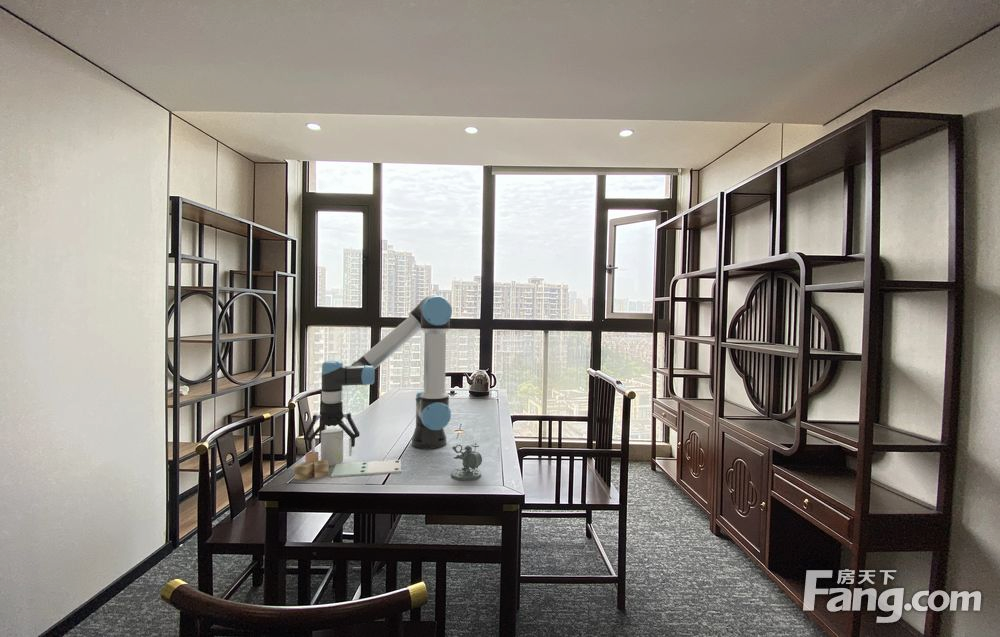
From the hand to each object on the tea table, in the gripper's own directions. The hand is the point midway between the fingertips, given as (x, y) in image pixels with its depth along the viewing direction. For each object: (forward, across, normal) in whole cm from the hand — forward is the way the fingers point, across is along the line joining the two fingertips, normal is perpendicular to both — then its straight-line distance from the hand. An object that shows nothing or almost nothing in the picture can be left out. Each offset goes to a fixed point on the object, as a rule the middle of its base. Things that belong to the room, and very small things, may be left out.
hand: (332, 456), depth 174 cm
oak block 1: (+2, +7, +14) cm, 16 cm away
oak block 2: (+2, +2, +13) cm, 13 cm away
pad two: (+2, -20, +10) cm, 22 cm away
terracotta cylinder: (+2, +6, +7) cm, 10 cm away
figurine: (+2, -49, +23) cm, 54 cm away
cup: (+2, 0, 0) cm, 2 cm away
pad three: (+2, -8, +10) cm, 13 cm away
